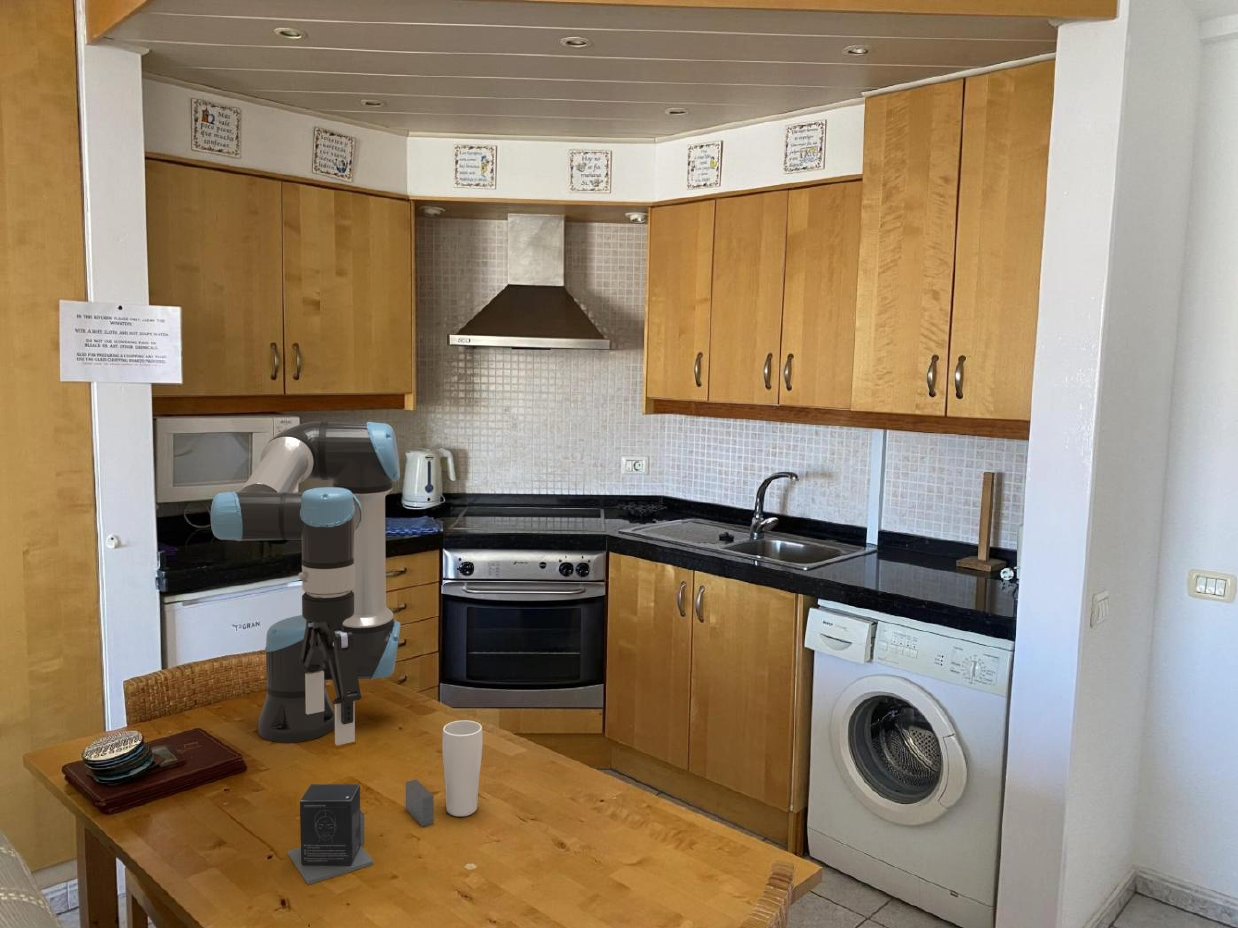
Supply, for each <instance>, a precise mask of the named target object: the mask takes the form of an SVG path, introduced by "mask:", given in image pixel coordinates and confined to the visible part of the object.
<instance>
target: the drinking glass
mask: <svg viewBox="0 0 1238 928" xmlns="http://www.w3.org/2000/svg"><path fill="white" fill-rule="evenodd" d="M441 744H442V761H443V762H442V763H443V774H444V785H445V798H446V799H445V808H446V811H447V813H448V814H449V815H450V816H453V817H468V816H470V815H473V814H474V813H476V811H477V809H478V804H479V803H478V802H479V801H478V797H479V796H478V795H479V785H480V776H481V775H480V774H481V768H482V767H481V766H482V765H481V764H482V756H483V726H482V725H481V724H480V723H479V722H476V721H474V720H466V719H465V720H461V719H460V720H456V721H451V722H449V723H447V724H445V725H444V726H443V728H442V743H441Z"/></svg>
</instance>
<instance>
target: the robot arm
mask: <svg viewBox="0 0 1238 928" xmlns="http://www.w3.org/2000/svg"><path fill="white" fill-rule="evenodd" d="M397 444H398V443H397V438H396V434H395V431H394V429H393V427H392V426H391V425H390V424H388V423H384V422H383V423H382V422H374V421H308V422H305V423H301V424H298V425H295V426H292V427H289V428H288V429H287V428H286V430H284V431H282V432H279V433H278V434H277V435H275V436H273V437H272V438H271V439H270V440H269V441H268V442H267V444H266V445H264V447H263V449H262V451H261V455H260V463H259V464H258V466H257V467H256V468H255V469H254V471H253V472H252V474H251V476H250V477H249V478H248V480H247V481H246V482H245V484H244V485H243V487H241V489H240V491H236V490H234V491H226V492H219V493H217V494H216V495H215V496H214V497H213V500H212V502H211V508H210V526H211V531H212V534H213V536H214V537H215V538H217V539H218V540H225V541H227V540H228V541H237V542H241V541H280V540H281V541H283V540H285V541H295V540H296V541H297V540H299V541H300V540H301V572H299V573H298V578H299V579H300V580H301V589H302V591H304V593H303V594H302V595H301V615H300V614H299V615H295V616H290V617H288V618H287V617H286V618H284V619H281V620H278V621H276V622H275V623H273V624H272V625H271V626H269V628H268V630H267V631H266V637H265V638H266V641H265V642H266V643H265V648H264V651H265V656H266V658H265V661H266V663H265V665H266V666H265V667H266V669H265V670H266V696H265V701H264V703H263V706H262V708H261V709H262V710H261V713H260V715H259V719H258V723H257V724H258V728H257V729H258V730H257V732H258V735H259V736H260V737H261V738H262V739H264V740H267V741H269V742H275V743H300V742H306V741H310V740H315V739H318V738H320V737H323V736H325V735H327V734H329V733H330V732H332V730H334V742H335V743H334V744H335V745H336V746H341V745H344V744H350V743H354V742H356V725H355V724H356V722H355V721H356V714H355V713H356V707H355V706H356V705H355V702H356V701H361V699H362V693H361V688H360V682H359V680H374V679H383V678H388V677H391V676H392V674H393V673H394V672H395V666H396V661H397V660H396V659H397V654H398V653H397V652H398V645H399V639H400V634H401V633H400V631H401V626H402V625H401V622H399V621H397V620H394V612H393V611H392V610H391V609H389V608H388V607H387V597H386V596H387V589H386V588H387V587H386V586H387V583H386V582H387V580H386V579H387V578H386V575H387V574H386V572H387V571H386V565H387V564H386V496H387V495H388V494H389V493H391V491H393V488H394V487H393V486H394V485H393V484H394V483H393V482H397V481H399V480H400V478H401V471H400V470H401V469H400V457H399V450H398V448H399V447H398V445H397ZM308 480H309V481H310V480H311V481H332V486H328V487H327V486H326V487H313V488H311V489H307V490H304V491H303V492H302V491H301V492H295V491H296V489H297V487H298V485H299V484H301V483H302V482H304V481H308ZM331 680H332V682H333V686H334V691H335V695H336V698H334V699H333V701H332V702H331V701H330V697H329V694H328V690H327V681H331ZM333 705H334V708H333Z"/></svg>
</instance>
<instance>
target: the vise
mask: <svg viewBox="0 0 1238 928" xmlns="http://www.w3.org/2000/svg"><path fill="white" fill-rule="evenodd" d="M434 800H435V799H434V794H433V793H432V792H430V791H429V790H428V788H426V787H425V786H424V784H422V783H421V782H420V781H419V780H418V779H417V778H416V779H412V780H408V781H405V811H406V812H407V813H408V814H409V815H410V816H411V817H412V819H414V820H415V821H416V822H417V823H418V824H419V825H420V826H421V827H422V828H423V827H427V826H431V825H433V824H434V822H435V821H434V817H435V816H434V812H435V811H434V808H435V807H434V806H435V805H434V802H435V801H434ZM360 826H361V846H362V845H365V813H364V812H362V810H361V809H360Z"/></svg>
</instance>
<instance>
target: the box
mask: <svg viewBox="0 0 1238 928" xmlns="http://www.w3.org/2000/svg"><path fill="white" fill-rule="evenodd" d="M360 810H361V784H356V783H354V784H351V783H350V784H349V783H348V784H347V783H346V784H344V783H343V784H342V783H341V784H340V783H339V784H335V783H334V784H332V783H331V784H327V783H325V784H323V783H321V784H318V783H317V784H314V783H313V784H310V785H309V787H308V788H307V790H306V791H305V793H304V794H303V795H302V797H301V798H300V800H299V824H300V829H299V830H300V833H299V834H300V847H301V864H302V865H352V863H353V861H354V859H355V857H356V855H357V853H358V851H359V849H360V846H362V845H361V826H360Z"/></svg>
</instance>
